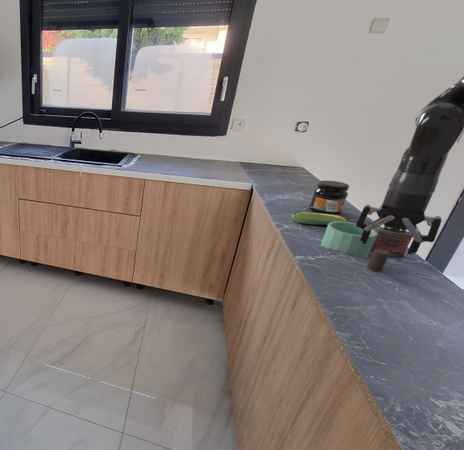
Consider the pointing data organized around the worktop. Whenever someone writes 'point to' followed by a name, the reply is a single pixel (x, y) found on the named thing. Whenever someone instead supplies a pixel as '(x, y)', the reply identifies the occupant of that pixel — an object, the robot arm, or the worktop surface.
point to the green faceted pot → (347, 239)
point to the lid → (377, 260)
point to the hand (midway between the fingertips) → (385, 248)
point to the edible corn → (317, 218)
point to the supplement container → (329, 197)
